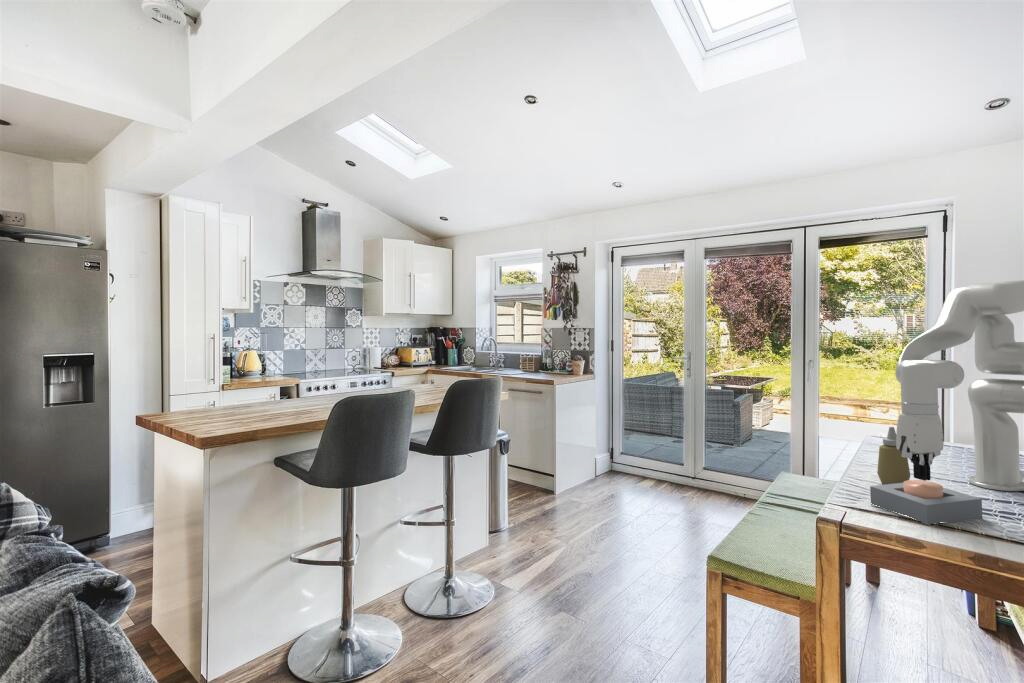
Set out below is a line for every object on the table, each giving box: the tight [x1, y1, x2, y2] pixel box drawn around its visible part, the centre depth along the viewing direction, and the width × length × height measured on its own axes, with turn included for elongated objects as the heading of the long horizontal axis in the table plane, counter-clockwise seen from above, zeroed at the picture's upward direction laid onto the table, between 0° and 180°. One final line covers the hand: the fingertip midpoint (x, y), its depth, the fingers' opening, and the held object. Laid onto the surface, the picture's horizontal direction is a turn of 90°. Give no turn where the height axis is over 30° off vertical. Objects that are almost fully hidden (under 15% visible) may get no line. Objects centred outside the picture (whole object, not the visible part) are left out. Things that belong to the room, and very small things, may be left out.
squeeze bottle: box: [877, 426, 911, 485], centre depth 151 cm, size 8×8×18 cm
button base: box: [869, 483, 983, 526], centre depth 131 cm, size 16×16×5 cm
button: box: [903, 479, 944, 499], centre depth 131 cm, size 8×8×5 cm
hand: (922, 478), depth 131 cm, fingers closed
